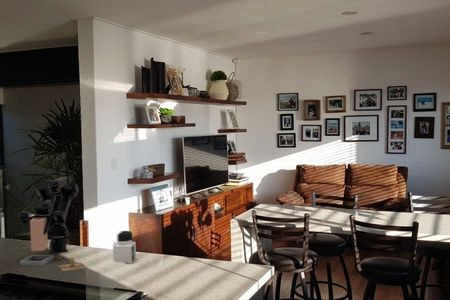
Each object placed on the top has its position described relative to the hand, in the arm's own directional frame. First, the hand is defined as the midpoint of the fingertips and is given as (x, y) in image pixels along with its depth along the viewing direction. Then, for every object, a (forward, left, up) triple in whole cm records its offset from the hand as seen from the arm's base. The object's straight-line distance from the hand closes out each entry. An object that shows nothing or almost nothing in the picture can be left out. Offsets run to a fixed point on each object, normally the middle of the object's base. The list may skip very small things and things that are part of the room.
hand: (37, 234), depth 191 cm
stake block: (-6, +16, -13) cm, 22 cm away
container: (-26, +25, -14) cm, 38 cm away
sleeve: (-1, -1, -7) cm, 7 cm away
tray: (-1, -3, -13) cm, 14 cm away
